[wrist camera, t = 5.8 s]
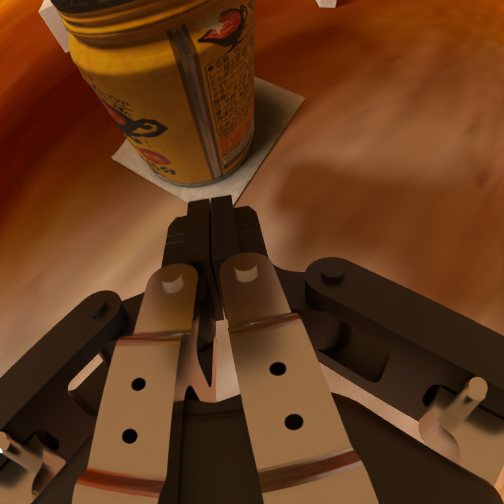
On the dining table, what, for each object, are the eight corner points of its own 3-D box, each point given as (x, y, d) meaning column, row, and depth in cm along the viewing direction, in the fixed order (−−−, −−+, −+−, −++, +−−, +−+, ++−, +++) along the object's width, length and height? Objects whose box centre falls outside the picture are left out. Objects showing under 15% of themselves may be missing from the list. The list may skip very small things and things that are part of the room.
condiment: (112, 159, 16) (-19, 8, 4) (199, 55, 17) (168, -111, 5) (222, 224, 15) (153, 29, 4) (304, 101, 16) (351, -90, 5)
